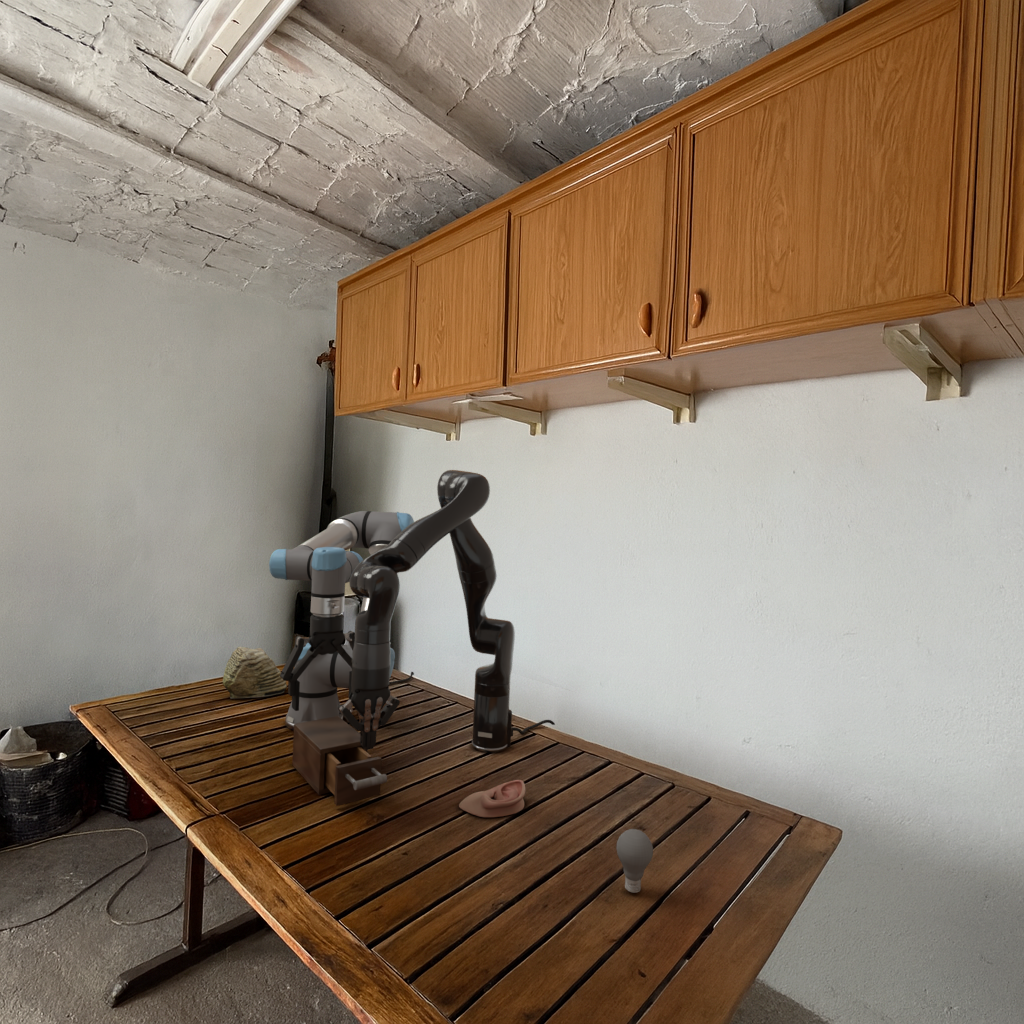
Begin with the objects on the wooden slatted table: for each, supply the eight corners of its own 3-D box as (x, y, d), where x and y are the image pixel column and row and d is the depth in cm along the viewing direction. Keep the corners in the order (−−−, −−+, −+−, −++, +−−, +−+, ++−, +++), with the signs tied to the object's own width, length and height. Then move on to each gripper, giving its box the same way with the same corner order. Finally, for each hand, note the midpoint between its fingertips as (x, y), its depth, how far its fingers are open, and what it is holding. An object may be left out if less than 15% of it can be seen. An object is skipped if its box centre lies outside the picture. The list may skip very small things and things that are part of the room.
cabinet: (366, 783, 141) (367, 739, 141) (318, 795, 134) (320, 749, 134) (336, 755, 155) (338, 715, 155) (292, 765, 149) (293, 723, 148)
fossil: (218, 695, 195) (220, 647, 195) (278, 685, 208) (279, 640, 207) (228, 703, 189) (230, 653, 188) (289, 692, 201) (290, 645, 201)
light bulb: (610, 879, 108) (613, 822, 108) (644, 879, 109) (647, 822, 109) (619, 902, 102) (622, 840, 102) (655, 901, 103) (658, 840, 103)
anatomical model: (455, 794, 129) (470, 770, 140) (454, 813, 129) (469, 788, 140) (519, 803, 126) (529, 778, 137) (518, 822, 126) (528, 796, 137)
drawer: (392, 806, 129) (394, 768, 129) (348, 818, 123) (349, 779, 123) (349, 766, 147) (351, 733, 147) (309, 775, 141) (310, 741, 141)
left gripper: (277, 621, 137) (274, 718, 138) (383, 612, 152) (380, 699, 153) (267, 615, 143) (264, 708, 144) (370, 607, 158) (367, 691, 159)
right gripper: (347, 671, 121) (343, 761, 121) (409, 663, 129) (405, 748, 129) (332, 662, 127) (329, 748, 127) (392, 655, 135) (389, 736, 135)
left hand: (324, 704), depth 148 cm, fingers open, 13 cm apart
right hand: (367, 748), depth 128 cm, fingers closed
